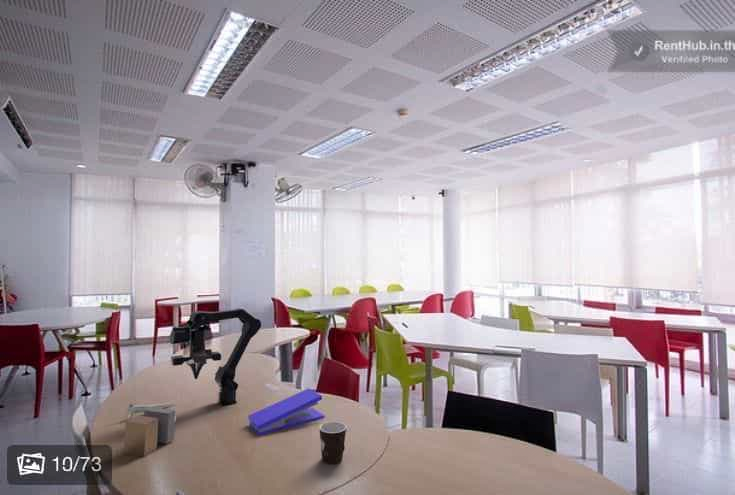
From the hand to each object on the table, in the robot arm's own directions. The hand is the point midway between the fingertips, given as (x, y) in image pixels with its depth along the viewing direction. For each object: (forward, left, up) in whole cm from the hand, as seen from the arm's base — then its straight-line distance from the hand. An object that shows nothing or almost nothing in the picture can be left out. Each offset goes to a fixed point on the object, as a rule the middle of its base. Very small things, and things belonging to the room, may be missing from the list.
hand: (195, 378), depth 158 cm
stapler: (-28, +32, -14) cm, 44 cm away
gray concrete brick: (+16, +23, -13) cm, 31 cm away
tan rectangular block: (+17, +24, -13) cm, 32 cm away
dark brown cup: (-27, +68, -13) cm, 74 cm away
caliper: (+15, -7, -14) cm, 21 cm away
